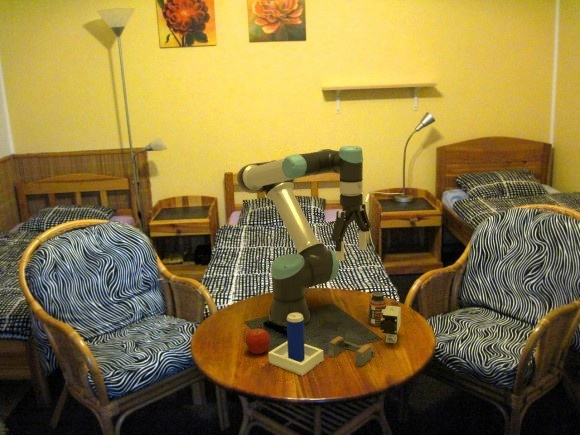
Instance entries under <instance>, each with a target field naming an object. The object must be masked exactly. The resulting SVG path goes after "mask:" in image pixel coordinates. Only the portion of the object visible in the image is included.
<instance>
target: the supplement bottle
mask: <svg viewBox="0 0 580 435" xmlns="http://www.w3.org/2000/svg"><path fill="white" fill-rule="evenodd" d="M384 295H385V294H384V293H383V292H381V291H373V292H372V294H371V298H370V299H369V300H368V302H369V303H368V323H369V325H371V326H373V327H380V323H381V319H382V316H383V313H382V309H385V308H386V306H387V300H386V299H385V298H384Z"/></svg>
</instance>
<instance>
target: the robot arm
mask: <svg viewBox="0 0 580 435" xmlns="http://www.w3.org/2000/svg"><path fill="white" fill-rule="evenodd" d="M363 162H364V157H363V149H362V147H360V146H359V145H345V146H343V145H342V146H341V147H339V150H335V149H331V148H326V149H325V148H322V149H319V150H317V151H314V152H313V151H312V152H308V153H306V152H305V153H299V154H297V153H296V154H291V155H287V156H285V157H284V158H281V159H278V160H277V159H276V160H275V159H274V160H271V161H264V162H258V163H257V162H256V163H250V164H249V163H248V164H246V165H244V166H243V167H241V168H240V169H239V171H238V173H237V175H236V179H237V180H236V182H237V185H238V186H239V188H240V190H242V191H244V192H245V193H249V194H259V193H264V195H265V196H266V198H267V199H268V200H270V201H272V202H273V204H274V207H275V209H276V210H277V212H278V214H279V216H280V219H281V220H282V222H283V225H284V226H285V228H286V230H287V233H288V234H289V236H290V239H291V240H292V241H291V242H293V245H294V247H295V249H296V251H297V252H296V253H286V254H282V255H280V256H278V257H276V258H275V259H274V260H273V261H272V264H271V271H270V272H271V285H272V286H271V288H272V290H271V291H272V301H271V304H270V308H269V311H268V321H269V320H276V321H282V322H286V323H287V316H288V315H289V314H290V313H301V314H302V315H303V318H304V325H306V324H308V323H309V322H310V320H311V312H310V309H309V308H308V304H307V301H306V297H305V295H306V294H305V293H306V289H309V288H312V287H316V286H319V285H323V284H328V282H332V281H334V280H335V279H336V278H337V277H338V274H339V271H340V261H341V262H343V261H345V241H343V239H344V237H345V235H346V233H347V231H348V228H349V225H351V224H352V223H353V222H355V223H356V225H357V227H358V228H359V230H358V250H362V251H367V237H368V236H367V232H368V233H369V232H370V229H371V223H370V219H369V217H368V213H367V209H366V204H363V202H364V200H363V199H364V198H363V197H364V194H362V193H363V191H364V190H363V187H364V184H363V178H364V175H363V169H364V168H363V164H364V163H363ZM329 173H332V174H339V193H340V195H339V205H340V206H341V207H342V210H337V211H336V213H335V214H336V215H335V222H334V225H333V230H332V233H331V236H330V241H333V242H334V243H335V245H334V246H335V247H334V248H335V251H334V250H333V249H329V248H326V246H325V244H324V243H323V242H321V241H319V240H318V239H317V237H316V235H315V233H314V230H313V229H312V227H311V225H310V223H309V221H308V219H307V216H306V215H305V212H304V211H303V209H302V207H301V205H300V203H299V202H298V199H297V197H296V196H295V192H294V191H293V190H294V186H295V185H294V184H295V181H296V180H295V179H299V178H300V179H301V178H306V177H310V176H315V175H316V176H317V175H323V174H329ZM307 322H308V323H307Z"/></svg>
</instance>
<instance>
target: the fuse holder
mask: <svg viewBox="0 0 580 435" xmlns="http://www.w3.org/2000/svg"><path fill="white" fill-rule="evenodd" d="M345 348H346V350H348V349H349V350H348V351H351V350H352V352H355V366H357V367H359V366H360V368H362V367H363V366H364V365H366V364H367V363H368V362H370V360H372V358H375V351H376V350H373V349H372V346H370V345H368V344H364V345H363V346H361V345H359V344H355V343H352V342H349V341H346V340H345V338H343V337H342V336H340V335H339V336H336V337H335V338H333V339H332V340H331V341H329V343H328V357H331V356H332V357H331V358H335V357H337V356H338V355H339V354H341V353H342V352H343V351H345ZM341 351H342V352H341ZM340 352H341V353H340ZM337 354H338V355H337ZM336 355H337V356H336Z"/></svg>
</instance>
